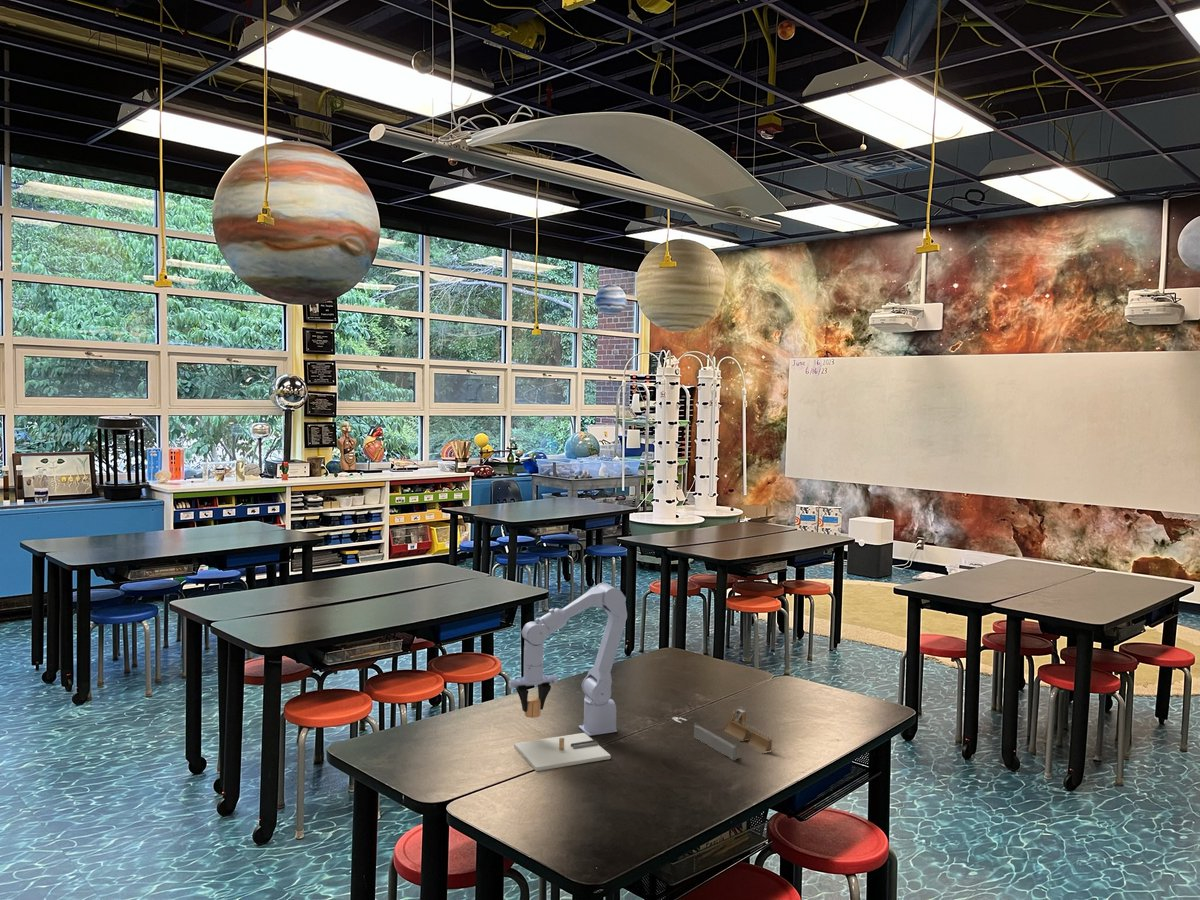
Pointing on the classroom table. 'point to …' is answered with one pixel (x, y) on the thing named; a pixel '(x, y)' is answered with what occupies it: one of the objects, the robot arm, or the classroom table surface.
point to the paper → (678, 719)
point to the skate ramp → (736, 730)
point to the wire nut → (533, 707)
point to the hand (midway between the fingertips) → (532, 709)
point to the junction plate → (561, 751)
